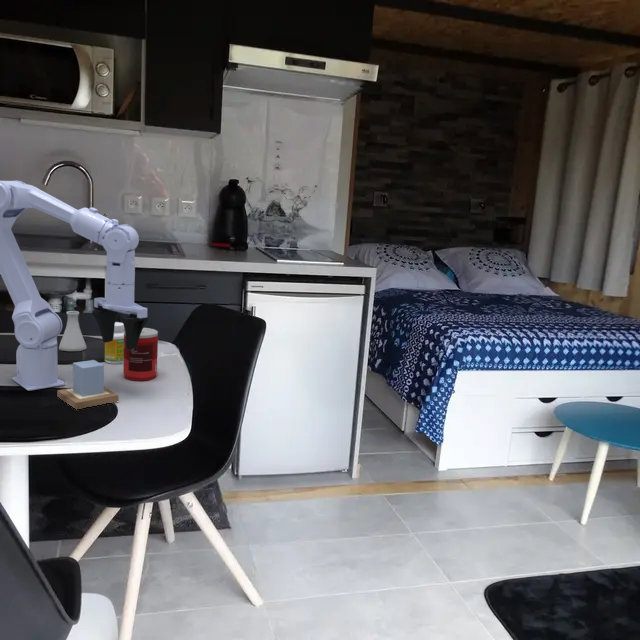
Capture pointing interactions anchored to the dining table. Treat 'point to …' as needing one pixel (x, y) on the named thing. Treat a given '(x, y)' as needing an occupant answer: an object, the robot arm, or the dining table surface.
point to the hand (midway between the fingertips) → (119, 344)
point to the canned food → (142, 357)
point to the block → (88, 378)
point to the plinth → (86, 398)
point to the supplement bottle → (115, 346)
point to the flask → (72, 334)
